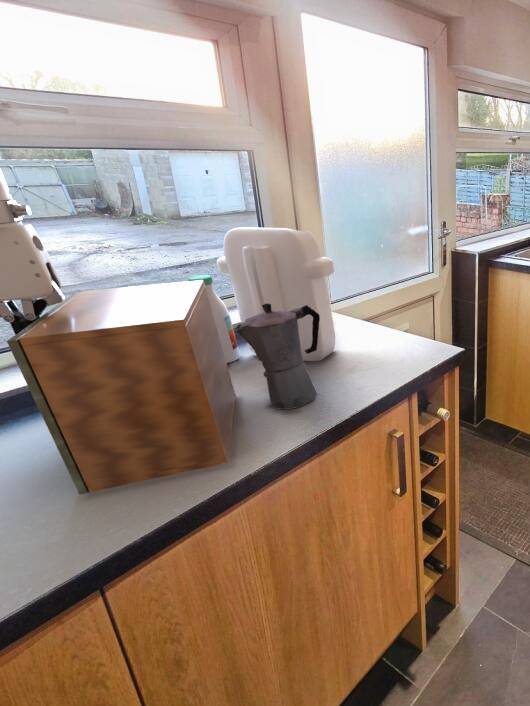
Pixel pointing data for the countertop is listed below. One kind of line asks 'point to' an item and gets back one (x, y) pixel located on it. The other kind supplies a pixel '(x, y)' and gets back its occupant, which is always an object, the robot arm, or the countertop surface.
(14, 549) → the countertop surface
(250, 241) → the toaster
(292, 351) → the moka pot
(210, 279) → the milk bottle
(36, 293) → the robot arm
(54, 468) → the countertop surface
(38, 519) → the countertop surface
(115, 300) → the cupboard
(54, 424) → the cupboard door
